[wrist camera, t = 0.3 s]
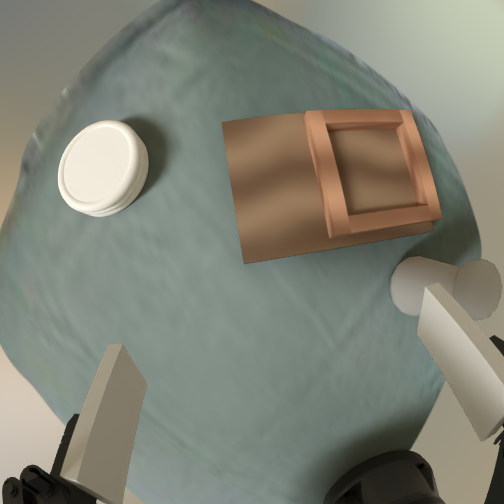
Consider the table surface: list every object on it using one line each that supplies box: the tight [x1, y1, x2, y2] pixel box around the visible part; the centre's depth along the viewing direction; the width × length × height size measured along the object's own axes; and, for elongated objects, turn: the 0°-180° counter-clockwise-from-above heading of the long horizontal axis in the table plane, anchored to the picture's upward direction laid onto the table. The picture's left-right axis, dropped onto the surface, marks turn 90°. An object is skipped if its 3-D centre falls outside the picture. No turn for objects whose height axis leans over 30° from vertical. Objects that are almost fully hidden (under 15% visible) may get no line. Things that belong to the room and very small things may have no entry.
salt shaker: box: [389, 256, 502, 320], centre depth 21 cm, size 6×6×13 cm
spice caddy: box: [222, 109, 442, 264], centre depth 26 cm, size 14×20×4 cm
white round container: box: [58, 120, 149, 217], centre depth 27 cm, size 10×10×4 cm
